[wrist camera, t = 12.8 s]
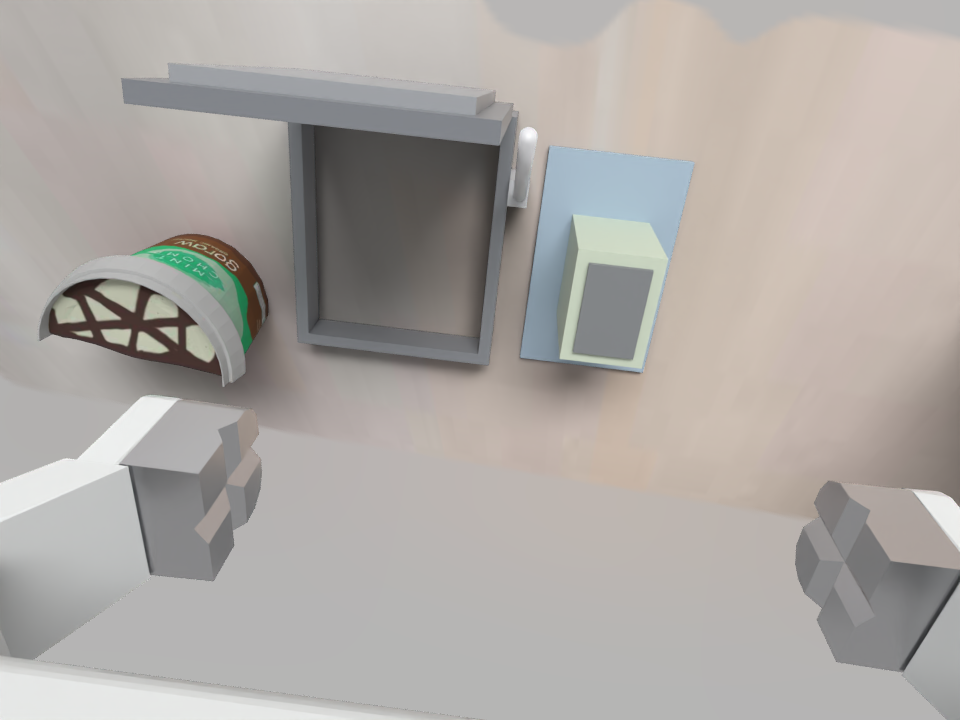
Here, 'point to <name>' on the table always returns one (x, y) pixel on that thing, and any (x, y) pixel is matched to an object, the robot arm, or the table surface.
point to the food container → (165, 305)
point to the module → (609, 291)
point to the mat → (599, 193)
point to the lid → (328, 100)
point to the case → (387, 339)
